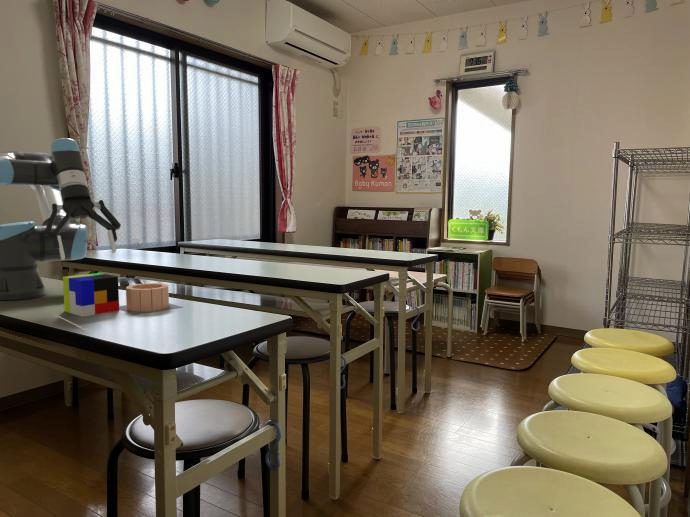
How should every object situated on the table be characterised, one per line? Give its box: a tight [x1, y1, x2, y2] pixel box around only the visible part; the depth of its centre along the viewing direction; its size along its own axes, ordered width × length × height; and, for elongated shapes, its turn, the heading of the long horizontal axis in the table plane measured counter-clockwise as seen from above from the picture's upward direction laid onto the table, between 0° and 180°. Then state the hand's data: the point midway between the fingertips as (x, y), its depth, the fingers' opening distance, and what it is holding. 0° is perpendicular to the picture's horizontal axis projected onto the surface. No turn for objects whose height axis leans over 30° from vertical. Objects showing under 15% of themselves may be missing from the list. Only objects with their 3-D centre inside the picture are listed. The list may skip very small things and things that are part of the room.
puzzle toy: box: [62, 272, 120, 318], centre depth 137 cm, size 10×10×10 cm
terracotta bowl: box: [125, 282, 170, 312], centre depth 143 cm, size 11×11×6 cm
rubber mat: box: [119, 302, 184, 316], centre depth 143 cm, size 14×14×1 cm
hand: (89, 255), depth 147 cm, fingers open, 13 cm apart
